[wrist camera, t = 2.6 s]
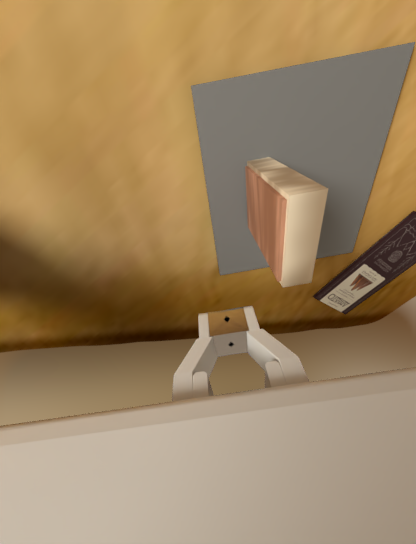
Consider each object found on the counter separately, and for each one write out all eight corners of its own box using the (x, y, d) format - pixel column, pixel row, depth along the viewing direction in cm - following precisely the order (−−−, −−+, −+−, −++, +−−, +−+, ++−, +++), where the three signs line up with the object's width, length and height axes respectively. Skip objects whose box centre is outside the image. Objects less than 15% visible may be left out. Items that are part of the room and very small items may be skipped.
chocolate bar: (444, 241, 33) (345, 314, 41) (438, 238, 33) (342, 310, 42) (416, 212, 29) (314, 298, 38) (411, 209, 30) (312, 294, 38)
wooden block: (247, 228, 28) (279, 288, 19) (244, 161, 24) (285, 196, 14) (268, 224, 28) (311, 282, 19) (269, 156, 23) (328, 188, 14)
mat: (219, 273, 33) (220, 275, 33) (191, 86, 20) (191, 85, 19) (349, 250, 33) (352, 252, 32) (409, 43, 19) (415, 41, 19)
